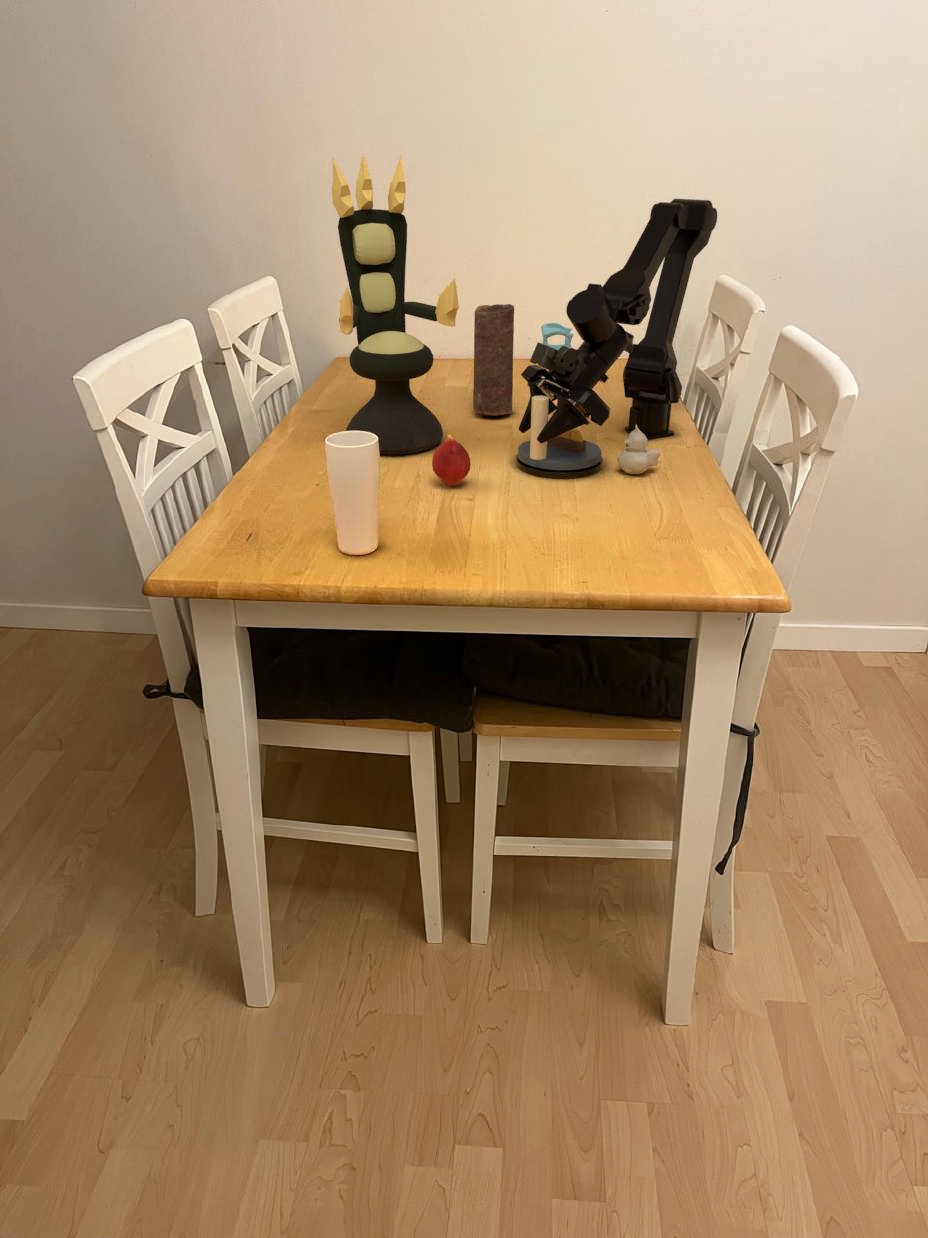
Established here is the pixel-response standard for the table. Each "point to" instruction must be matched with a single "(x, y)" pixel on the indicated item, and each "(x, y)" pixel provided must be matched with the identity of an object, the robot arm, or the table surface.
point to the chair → (556, 329)
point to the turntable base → (558, 471)
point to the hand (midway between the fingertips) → (529, 436)
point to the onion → (451, 462)
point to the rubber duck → (637, 454)
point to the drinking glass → (354, 489)
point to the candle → (493, 359)
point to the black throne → (385, 314)
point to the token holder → (556, 444)
